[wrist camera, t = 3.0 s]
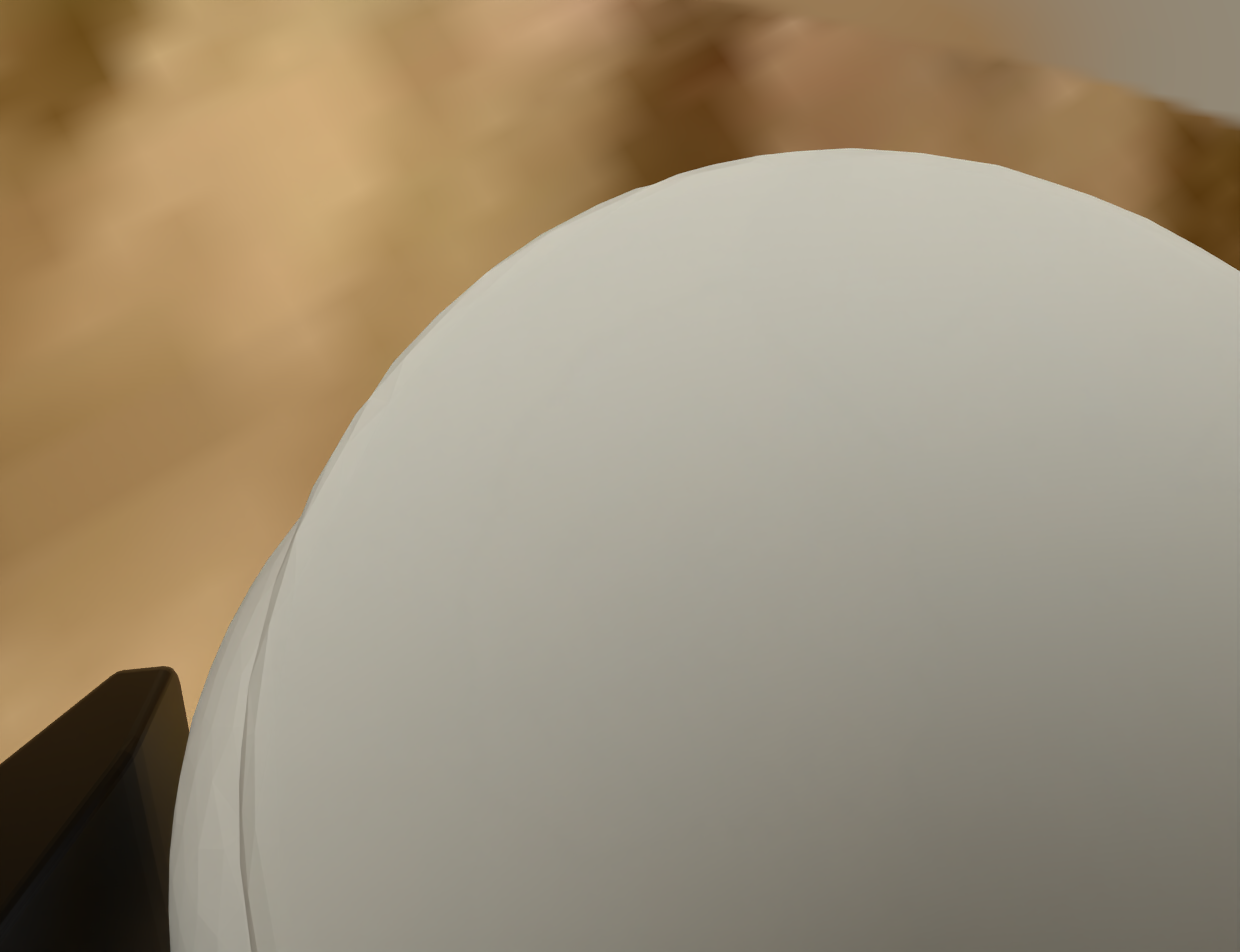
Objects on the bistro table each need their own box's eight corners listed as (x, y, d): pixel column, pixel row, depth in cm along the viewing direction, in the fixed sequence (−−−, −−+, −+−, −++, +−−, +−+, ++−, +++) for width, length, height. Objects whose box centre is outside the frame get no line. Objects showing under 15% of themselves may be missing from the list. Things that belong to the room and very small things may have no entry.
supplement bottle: (797, 638, 17) (1593, 31, 5) (823, 1133, 15) (2400, 2095, 3) (350, 621, 16) (88, -154, 4) (300, 1146, 14) (-565, 2606, 2)
